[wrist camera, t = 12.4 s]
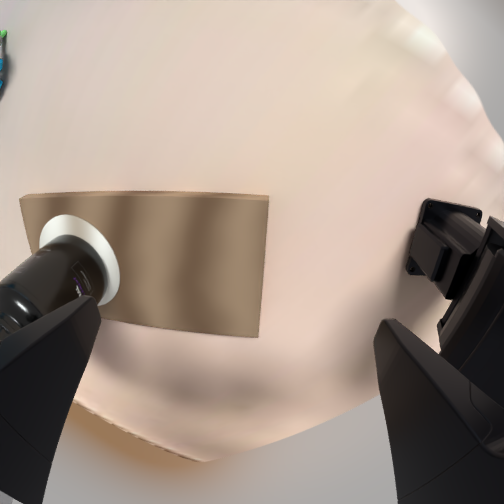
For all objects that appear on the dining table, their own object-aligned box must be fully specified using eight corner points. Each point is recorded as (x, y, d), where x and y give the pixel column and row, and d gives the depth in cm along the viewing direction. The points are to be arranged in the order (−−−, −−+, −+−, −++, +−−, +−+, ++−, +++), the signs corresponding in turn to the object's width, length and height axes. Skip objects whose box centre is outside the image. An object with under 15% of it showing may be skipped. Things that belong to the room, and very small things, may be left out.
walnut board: (268, 195, 20) (268, 201, 18) (258, 328, 25) (257, 339, 24) (27, 194, 20) (17, 199, 19) (55, 300, 26) (49, 308, 25)
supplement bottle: (125, 284, 22) (53, 398, 12) (81, 308, 24) (18, 402, 13) (77, 215, 20) (-30, 304, 9) (39, 251, 21) (-44, 331, 11)
